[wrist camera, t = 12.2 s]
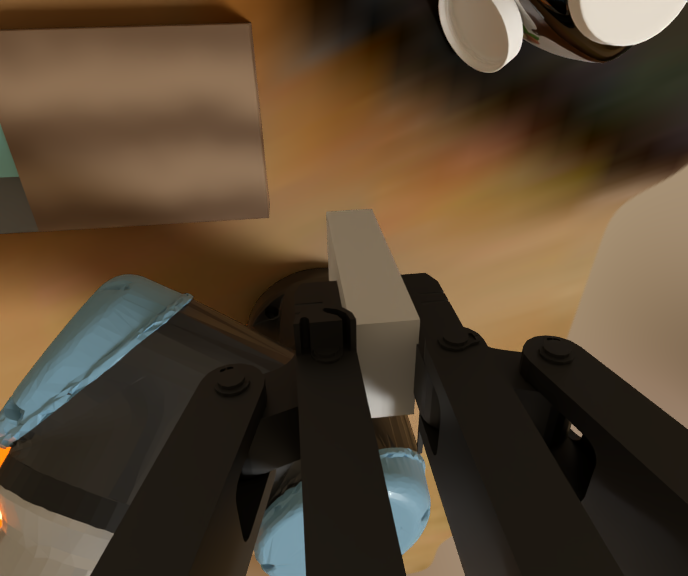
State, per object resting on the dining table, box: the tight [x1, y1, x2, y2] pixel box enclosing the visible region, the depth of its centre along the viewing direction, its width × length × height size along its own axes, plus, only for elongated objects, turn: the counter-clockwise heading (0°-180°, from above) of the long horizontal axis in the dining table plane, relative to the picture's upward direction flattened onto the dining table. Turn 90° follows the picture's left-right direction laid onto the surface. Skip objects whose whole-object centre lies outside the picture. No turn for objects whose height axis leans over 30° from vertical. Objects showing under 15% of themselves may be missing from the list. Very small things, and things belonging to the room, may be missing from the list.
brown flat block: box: [0, 23, 270, 232], centre depth 37 cm, size 14×18×3 cm
